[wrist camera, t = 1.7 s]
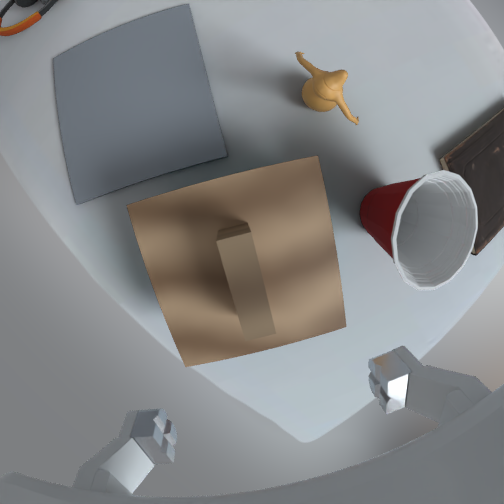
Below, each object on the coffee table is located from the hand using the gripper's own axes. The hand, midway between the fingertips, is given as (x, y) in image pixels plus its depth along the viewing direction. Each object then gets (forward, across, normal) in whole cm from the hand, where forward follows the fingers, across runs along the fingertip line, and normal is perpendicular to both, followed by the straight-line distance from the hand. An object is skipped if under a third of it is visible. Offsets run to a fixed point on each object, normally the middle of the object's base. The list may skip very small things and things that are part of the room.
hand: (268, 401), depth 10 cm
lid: (+16, 0, 0) cm, 16 cm away
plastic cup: (+23, -17, 0) cm, 29 cm away
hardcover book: (+24, -41, -2) cm, 47 cm away
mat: (+23, +8, -20) cm, 32 cm away
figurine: (+23, -11, -14) cm, 29 cm away
